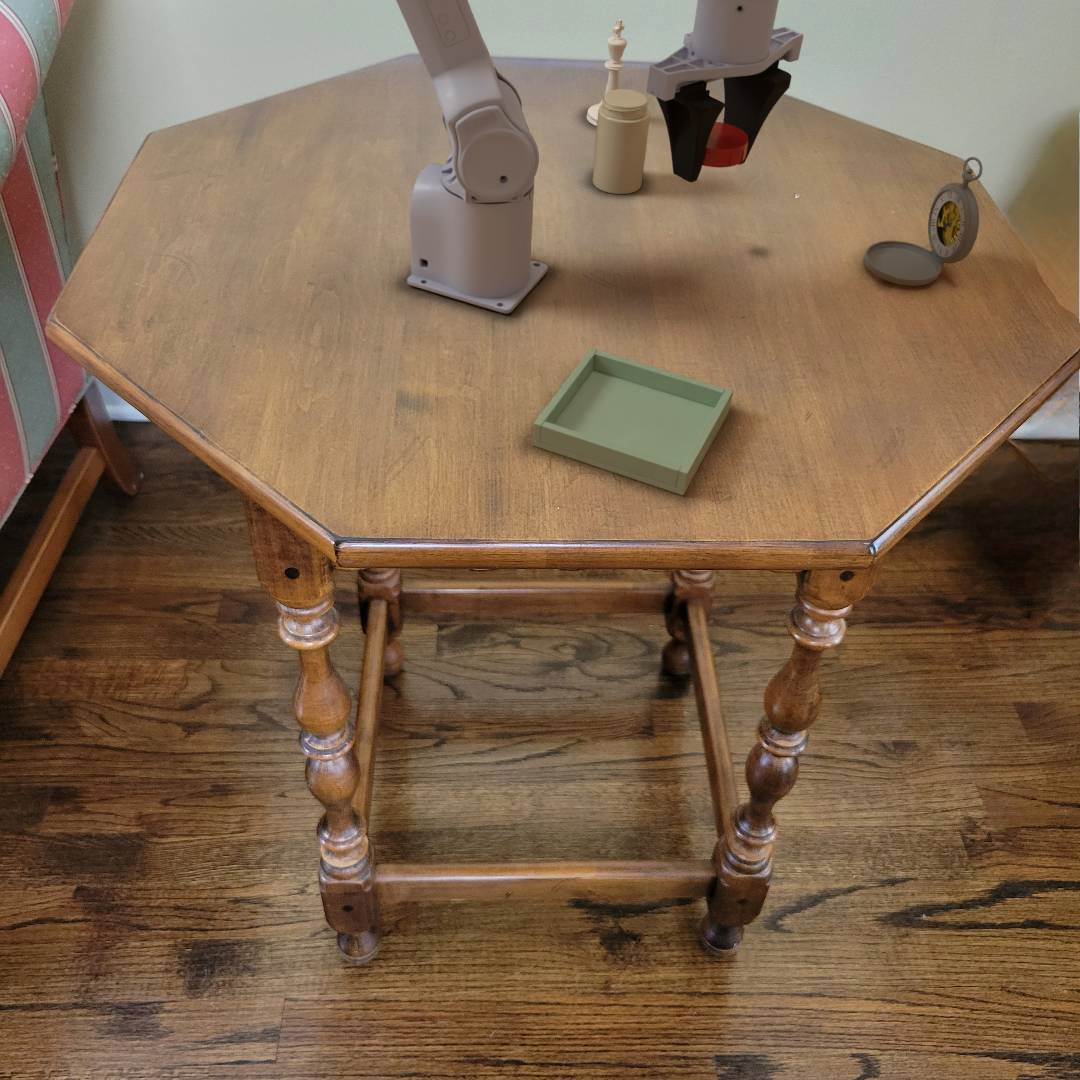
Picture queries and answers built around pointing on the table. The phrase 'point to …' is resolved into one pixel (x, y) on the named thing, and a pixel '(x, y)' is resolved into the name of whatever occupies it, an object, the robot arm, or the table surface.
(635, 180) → the jar
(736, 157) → the lid
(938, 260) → the pocket watch
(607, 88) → the chess piece
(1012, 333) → the table surface
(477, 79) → the robot arm
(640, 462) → the tray
